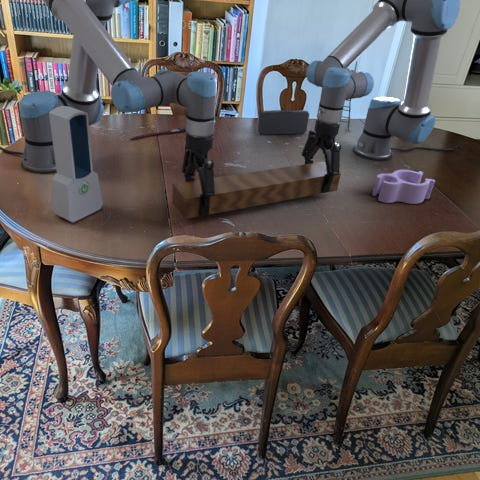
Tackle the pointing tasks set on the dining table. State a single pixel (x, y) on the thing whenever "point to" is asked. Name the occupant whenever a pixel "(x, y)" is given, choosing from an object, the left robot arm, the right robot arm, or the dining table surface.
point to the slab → (253, 188)
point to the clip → (402, 187)
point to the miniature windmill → (349, 104)
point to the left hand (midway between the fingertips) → (196, 205)
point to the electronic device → (73, 165)
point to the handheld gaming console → (283, 122)
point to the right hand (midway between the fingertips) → (315, 185)
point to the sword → (159, 133)
